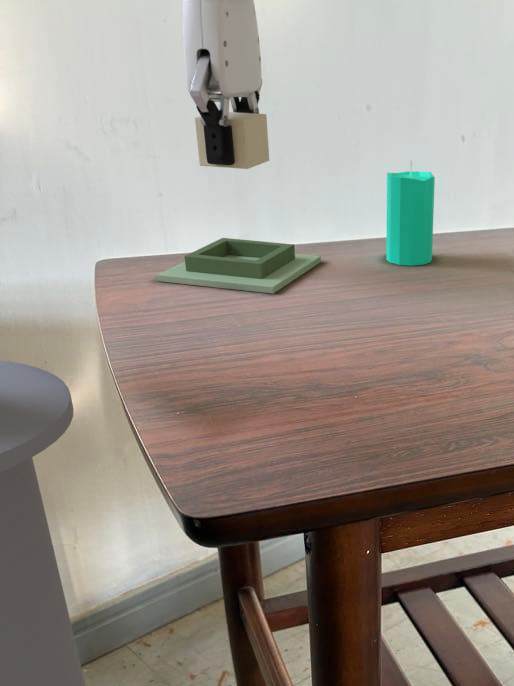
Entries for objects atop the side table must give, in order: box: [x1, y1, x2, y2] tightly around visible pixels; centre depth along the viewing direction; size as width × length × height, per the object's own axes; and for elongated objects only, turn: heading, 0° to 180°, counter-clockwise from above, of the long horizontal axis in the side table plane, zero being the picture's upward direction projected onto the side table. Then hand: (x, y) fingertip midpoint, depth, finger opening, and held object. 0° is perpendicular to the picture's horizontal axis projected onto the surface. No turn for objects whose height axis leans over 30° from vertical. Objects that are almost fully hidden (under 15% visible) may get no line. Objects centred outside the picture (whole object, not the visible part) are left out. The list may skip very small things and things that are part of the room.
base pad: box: [156, 237, 322, 295], centre depth 107 cm, size 15×15×3 cm
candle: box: [385, 160, 436, 266], centre depth 111 cm, size 6×6×12 cm
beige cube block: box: [194, 111, 270, 170], centre depth 100 cm, size 6×6×5 cm
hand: (234, 157), depth 101 cm, fingers closed on beige cube block, 6 cm apart
